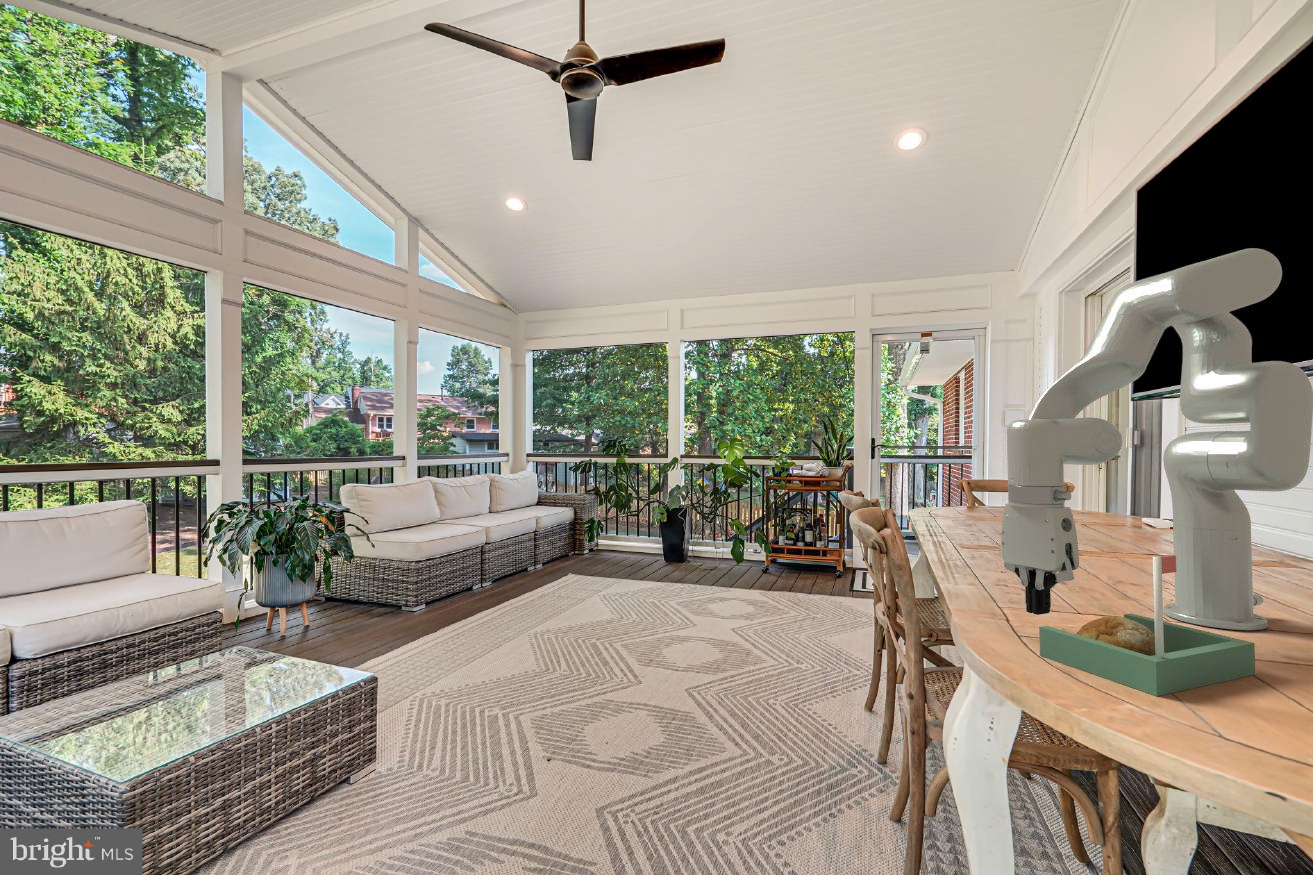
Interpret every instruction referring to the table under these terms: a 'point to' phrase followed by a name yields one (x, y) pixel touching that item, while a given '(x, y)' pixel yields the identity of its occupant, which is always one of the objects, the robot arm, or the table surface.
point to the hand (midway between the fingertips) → (1038, 612)
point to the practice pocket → (1156, 651)
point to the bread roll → (1121, 634)
